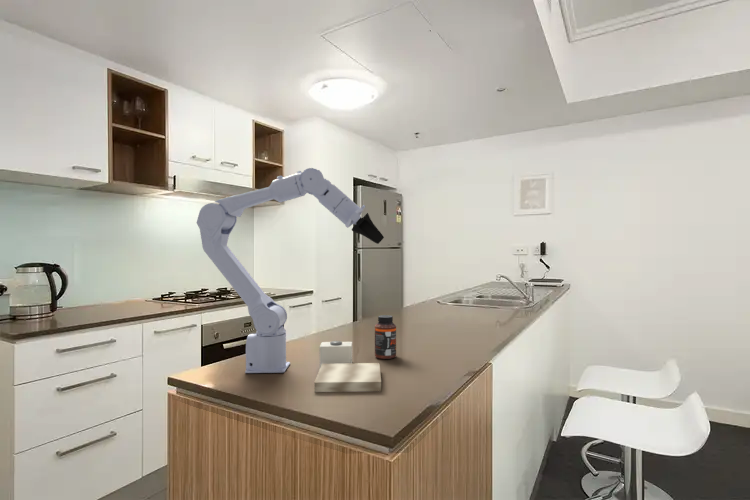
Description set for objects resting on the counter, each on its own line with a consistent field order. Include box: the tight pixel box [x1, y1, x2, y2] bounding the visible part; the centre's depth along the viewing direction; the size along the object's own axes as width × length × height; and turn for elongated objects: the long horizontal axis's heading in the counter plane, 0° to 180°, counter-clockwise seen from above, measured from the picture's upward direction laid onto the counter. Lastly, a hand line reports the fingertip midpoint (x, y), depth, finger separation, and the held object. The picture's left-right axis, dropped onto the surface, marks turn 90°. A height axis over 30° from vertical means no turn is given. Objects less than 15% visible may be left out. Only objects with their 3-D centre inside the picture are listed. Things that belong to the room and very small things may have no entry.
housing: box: [319, 340, 353, 368], centre depth 106 cm, size 8×5×6 cm, turn 91°
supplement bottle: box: [374, 314, 397, 360], centre depth 113 cm, size 6×6×11 cm
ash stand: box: [313, 362, 382, 393], centre depth 93 cm, size 14×14×2 cm
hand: (380, 240), depth 103 cm, fingers open, 7 cm apart
